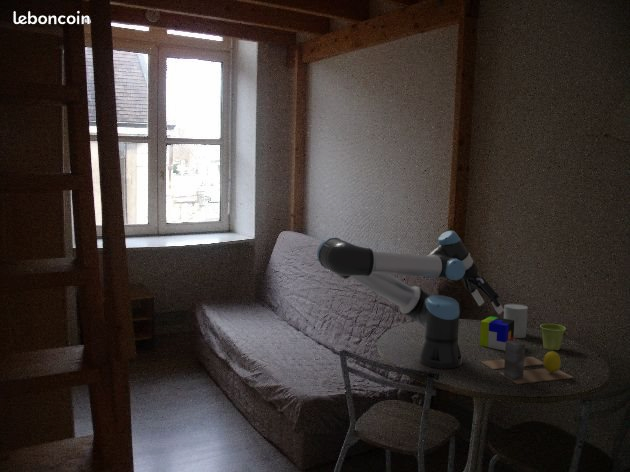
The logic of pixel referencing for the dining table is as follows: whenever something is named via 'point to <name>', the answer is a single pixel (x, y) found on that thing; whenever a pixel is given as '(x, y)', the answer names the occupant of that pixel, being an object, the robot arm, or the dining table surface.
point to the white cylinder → (517, 318)
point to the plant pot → (552, 336)
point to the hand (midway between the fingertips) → (491, 307)
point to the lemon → (552, 361)
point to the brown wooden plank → (500, 363)
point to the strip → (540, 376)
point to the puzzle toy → (496, 332)
